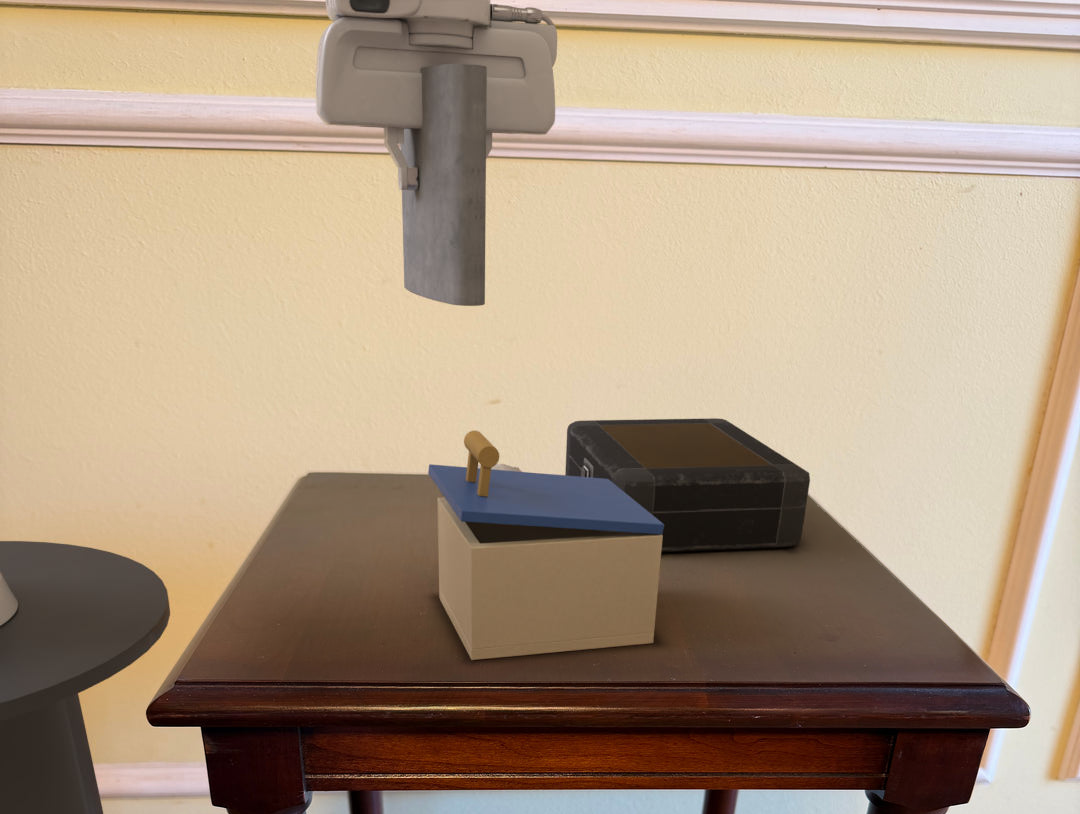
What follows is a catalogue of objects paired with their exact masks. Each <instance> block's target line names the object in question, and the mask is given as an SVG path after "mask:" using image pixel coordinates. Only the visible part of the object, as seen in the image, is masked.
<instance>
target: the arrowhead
mask: <svg viewBox="0 0 1080 814" xmlns="http://www.w3.org/2000/svg"><path fill="white" fill-rule="evenodd" d="M480 466H481V464H478V468H480ZM491 469H493V470H505V471H517V472H523V471H522V470H521V469H520V467H518V466H511V465H508V464H506V463H497V464H496V465H495V466H493V467H491Z"/></svg>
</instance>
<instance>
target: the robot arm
mask: <svg viewBox="0 0 1080 814" xmlns="http://www.w3.org/2000/svg"><path fill="white" fill-rule="evenodd" d="M325 9H326V14H327V17H328V19H329V20H330V21H331V23H330V24H328V26H327V27H326V28H325V30H323V32H322V34H321V36H320V39H319V43H318V46H317V53H316V55H317V56H316V64H315V66H316V67H315V85H314V86H315V88H314V92H315V97H314V98H315V111H316V114H317V116H318V118H319V119H320V120H321V121H322V122H323V124H325V125H326V126H336V127H337V126H338V127H359V128H380V129H383V144H384V146H385V148H386V149H387V151H388V153H389V155H390V158H391V159H392V161H393V163H394V165H395V167H397V183H398V184H397V185H398V190H399V191H402V190H418V181H417V177H418V168H417V167H409V166H408V164H407V162H406V160H405V158H404V156H403V154H402V152H401V147H400V146H399V145H401V144H403V143H404V129H411V128H415V129H421V128H422V120H423V114H422V73H421V71H420V68H422V67H428V66H436V65H445V64H474V65H483V66H486V67H487V102H486V160H487V159H488V157H489V155H490V153H491V151H492V149H493V134H508V135H528V136H529V135H530V136H544V135H547V134H548V133H549V131H550V130H551V129H552V127H554V125H555V121H556V90H555V76H554V68H553V67H554V65H555V64H556V61H557V56H558V55H557V54H558V32H557V28H556V26H555V23H554V22H553V21H552V19H550V17H548V16H547V15H546V14H544V13H543V11H542V10H541V9H539V8H537V7H532V6H531V7H530V6H529V7H525V8H524V7H517V6H512V5H508V4H507V5H505V4H497V3H491V0H325ZM542 21H543V22H545V23H546V24H542ZM17 608H18V601H17V599H16V598H15V596H14V595H13V593H12V591H11V590H10V588H9V586H8V585H7V583H6V581H5V579H4V578H3V576H2V574H1V572H0V626H1V625H2V624H4V623H5V622H7V621H8V620H9V619H10V618H11V617H12V616H13V615H14V614H15V612H16V611H17Z"/></svg>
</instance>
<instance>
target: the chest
mask: <svg viewBox="0 0 1080 814" xmlns="http://www.w3.org/2000/svg"><path fill="white" fill-rule="evenodd" d="M437 537H438V538H437V542H438V543H437V544H438V547H437V548H438V589H439V591H438V592H439V593H438V595H439V596H438V597H439V599H440V602H441V604H442V606H443V608H444V610H445V612H446V614H447V616H448V617H449V619H450V622H451V623H452V625H453V627H454V629H455V631H456V633H457V635H458V637H459V639H460V641H461V643H462V645H463V646H464V648H465V650H466V653H467V654H468V656H469V658H470V660H471V661H476V660H486V659H499V658H508V657H510V658H511V657H521V656H530V655H531V656H532V655H540V654H550V653H551V654H552V653H562V652H563V653H564V652H572V651H582V650H593V649H605V648H615V647H626V646H636V645H637V646H638V645H647V644H654V640H655V639H654V637H655V625H656V615H657V605H658V604H657V603H658V594H659V593H658V592H659V582H660V572H661V571H660V570H661V559H662V553H661V549H662V538H663V535H661V534H646V533H631V532H616V531H600V530H585V529H570V528H554V527H539V526H523V525H508V524H493V523H477V522H462V521H460V519H459V518H458V516H457V515H456V513H455V512H454V510H453V509H452V507H451V506H450V505H449V503H448V502H447V500H446V499H445V497H444V496H442V497H437Z"/></svg>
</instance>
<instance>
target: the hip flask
mask: <svg viewBox="0 0 1080 814" xmlns="http://www.w3.org/2000/svg"><path fill="white" fill-rule="evenodd" d="M420 71H421V73H422V114H423V120H422V128H421V129H415V128H411V129H404V143H403V144H400V150H401V152H402V154H403V156H404V158H405V160H406V162H407V164H408V166H409V167H417V168H418V177H417V181H418V190H401V212H402V214H401V215H402V255H403V287H404V289H406V290H407V291H408V292H410V293H411V294H414V295H417V296H419V297H423V298H425V299H428V300H432V301H435V302H438V303H443V304H447V305H452V306H461V307H462V306H463V307H478V306H479V307H480V306H485V304H486V220H487V219H486V213H487V212H486V211H487V209H486V208H487V207H486V205H487V203H486V202H487V198H486V197H487V189H486V188H487V159H486V102H487V67H486V66H483V65H474V64H445V65H436V66H428V67H422V68H420Z"/></svg>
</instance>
